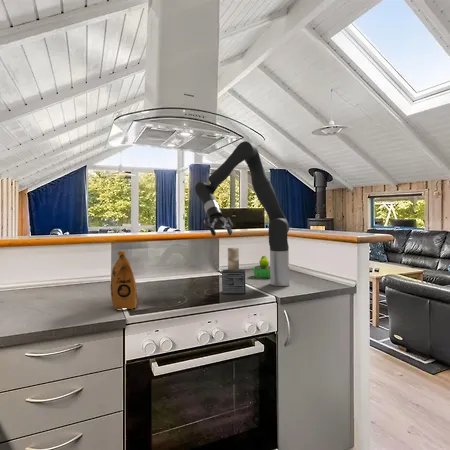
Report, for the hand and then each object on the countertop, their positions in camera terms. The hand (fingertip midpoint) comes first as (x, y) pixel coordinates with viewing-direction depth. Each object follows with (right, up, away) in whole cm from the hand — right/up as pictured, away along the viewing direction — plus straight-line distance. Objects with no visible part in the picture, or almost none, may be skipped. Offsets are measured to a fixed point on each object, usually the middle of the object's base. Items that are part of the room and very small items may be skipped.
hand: (222, 234), depth 156 cm
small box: (+5, -27, -9) cm, 29 cm away
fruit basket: (+23, -25, +25) cm, 42 cm away
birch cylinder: (+5, -16, -9) cm, 19 cm away
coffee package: (-39, -28, -27) cm, 56 cm away
